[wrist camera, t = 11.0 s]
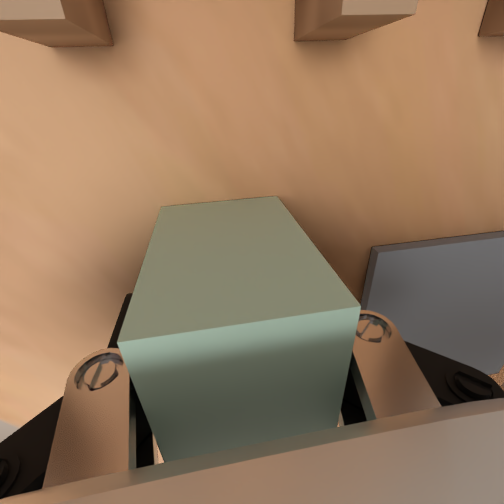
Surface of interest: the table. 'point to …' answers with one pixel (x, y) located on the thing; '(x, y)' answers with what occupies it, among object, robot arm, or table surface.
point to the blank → (236, 329)
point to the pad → (443, 295)
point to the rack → (306, 29)
